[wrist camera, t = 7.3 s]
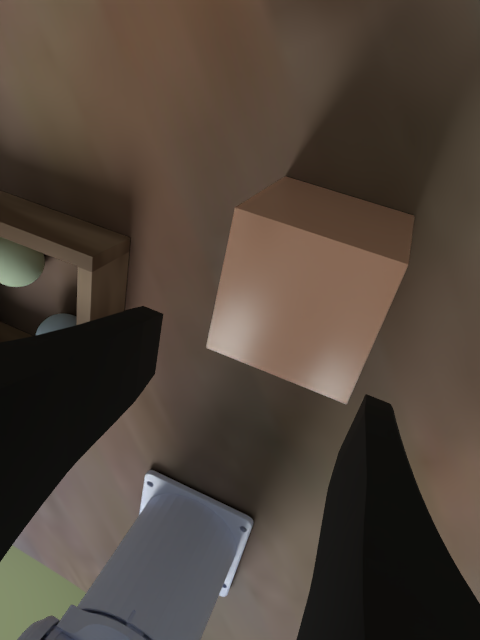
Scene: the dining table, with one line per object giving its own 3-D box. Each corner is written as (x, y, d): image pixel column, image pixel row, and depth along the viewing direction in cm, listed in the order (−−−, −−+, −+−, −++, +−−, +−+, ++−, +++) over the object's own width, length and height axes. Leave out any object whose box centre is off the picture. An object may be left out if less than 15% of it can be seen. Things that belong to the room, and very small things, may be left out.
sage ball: (56, 282, 27) (18, 303, 24) (15, 266, 28) (-26, 284, 25) (56, 236, 25) (15, 252, 23) (12, 219, 26) (-32, 234, 24)
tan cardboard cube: (366, 329, 21) (346, 404, 16) (256, 289, 22) (206, 347, 17) (414, 215, 18) (408, 264, 13) (285, 176, 19) (234, 207, 14)
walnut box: (118, 382, 29) (86, 413, 26) (-54, 307, 32) (-99, 327, 29) (130, 237, 24) (92, 257, 21) (-76, 162, 26) (-133, 171, 24)
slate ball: (99, 355, 28) (67, 381, 26) (59, 338, 29) (24, 362, 26) (101, 315, 27) (67, 339, 24) (59, 298, 27) (22, 319, 25)
